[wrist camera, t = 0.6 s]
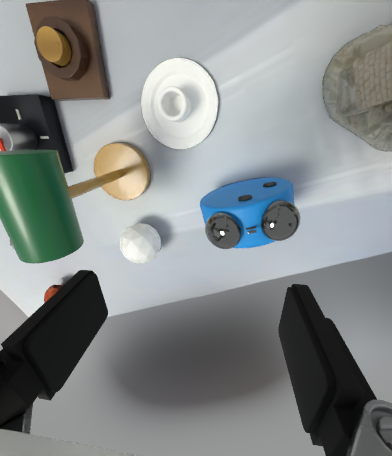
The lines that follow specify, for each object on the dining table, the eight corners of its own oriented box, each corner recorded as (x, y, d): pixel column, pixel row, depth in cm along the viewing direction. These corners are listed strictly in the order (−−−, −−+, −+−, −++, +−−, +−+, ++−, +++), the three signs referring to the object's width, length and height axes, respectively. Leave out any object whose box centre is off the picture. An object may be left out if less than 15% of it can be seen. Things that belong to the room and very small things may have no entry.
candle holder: (231, 79, 29) (231, 70, 25) (201, 159, 34) (198, 163, 30) (153, 45, 28) (142, 31, 24) (135, 132, 34) (124, 132, 30)
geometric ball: (149, 236, 45) (122, 261, 42) (135, 210, 40) (103, 236, 36) (173, 248, 42) (146, 278, 38) (162, 221, 36) (129, 253, 32)
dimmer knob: (11, 124, 33) (-21, 123, 28) (32, 124, 32) (3, 122, 28) (21, 150, 34) (-9, 152, 30) (41, 150, 34) (14, 152, 30)
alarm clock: (211, 218, 38) (203, 264, 25) (203, 188, 36) (190, 220, 23) (282, 204, 35) (316, 247, 22) (278, 170, 33) (315, 195, 20)
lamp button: (43, 33, 27) (31, 27, 25) (67, 31, 26) (57, 24, 25) (51, 66, 28) (41, 62, 27) (74, 65, 28) (65, 61, 26)
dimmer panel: (6, 99, 34) (-14, 96, 31) (53, 97, 33) (37, 94, 30) (32, 170, 39) (17, 173, 36) (73, 171, 38) (61, 174, 35)
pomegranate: (64, 268, 53) (42, 303, 51) (54, 273, 46) (27, 314, 44) (91, 280, 55) (70, 315, 53) (85, 286, 48) (60, 326, 46)
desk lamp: (93, 142, 35) (-73, 155, 16) (147, 142, 34) (39, 155, 14) (105, 197, 40) (-14, 259, 20) (152, 198, 38) (76, 267, 19)
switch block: (35, 10, 28) (12, -5, 25) (93, 4, 27) (76, -13, 24) (59, 100, 33) (42, 97, 30) (109, 99, 32) (97, 95, 29)
